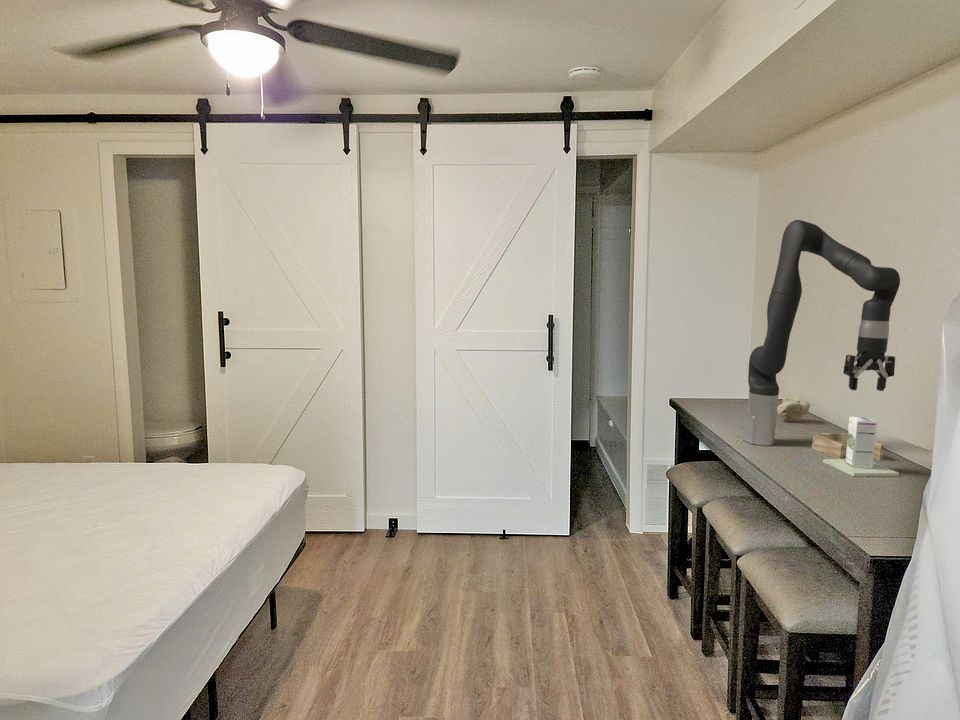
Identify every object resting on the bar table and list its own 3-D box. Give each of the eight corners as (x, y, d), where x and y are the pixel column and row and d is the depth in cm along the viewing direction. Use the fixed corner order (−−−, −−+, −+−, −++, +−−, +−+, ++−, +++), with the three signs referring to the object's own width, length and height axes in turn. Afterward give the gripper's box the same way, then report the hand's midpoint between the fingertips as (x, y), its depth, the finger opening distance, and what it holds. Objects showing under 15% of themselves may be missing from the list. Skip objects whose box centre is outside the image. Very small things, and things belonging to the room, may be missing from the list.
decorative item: (803, 420, 256) (805, 395, 255) (811, 425, 248) (814, 400, 246) (771, 418, 258) (773, 394, 256) (778, 423, 249) (781, 398, 248)
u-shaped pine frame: (839, 460, 201) (841, 444, 200) (811, 447, 215) (813, 433, 214) (882, 460, 202) (884, 444, 202) (851, 447, 216) (853, 433, 216)
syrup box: (873, 469, 189) (878, 421, 187) (851, 467, 190) (857, 420, 188) (864, 463, 195) (869, 416, 193) (843, 462, 195) (848, 415, 193)
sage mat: (853, 476, 185) (853, 473, 184) (823, 462, 198) (823, 459, 198) (898, 476, 186) (898, 472, 186) (865, 461, 200) (865, 458, 200)
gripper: (858, 336, 183) (852, 392, 185) (905, 337, 184) (898, 393, 186) (841, 333, 190) (835, 387, 192) (886, 335, 191) (880, 388, 194)
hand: (866, 390), depth 189 cm, fingers open, 8 cm apart
